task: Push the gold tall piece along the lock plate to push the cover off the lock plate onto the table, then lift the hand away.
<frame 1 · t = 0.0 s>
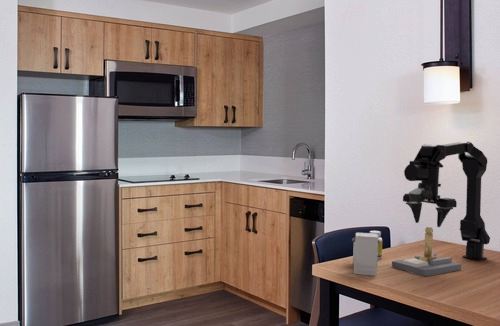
hand: (427, 224, 190), 15 cm above the table, tool pointing down, fingers open, 9 cm apart
cover: (415, 264, 185), point 2 cm above the table, touching lock plate
mug: (364, 265, 191), on the table
lock plate: (426, 268, 188), on the table
supplement box: (364, 272, 180), on the table
gold tall piece: (428, 244, 188), point 8 cm above the table, slide at 0.0 cm
supplement bottle: (374, 258, 203), on the table
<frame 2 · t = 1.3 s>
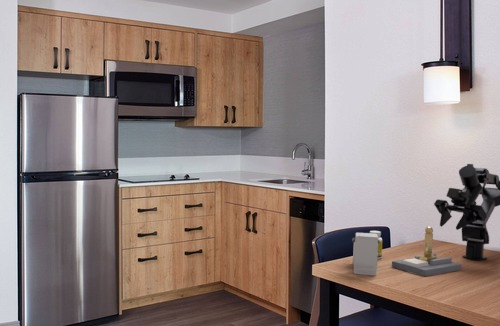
hand: (448, 227, 194), 13 cm above the table, tool tilted 45°, fingers open, 6 cm apart
nothing on the table moved.
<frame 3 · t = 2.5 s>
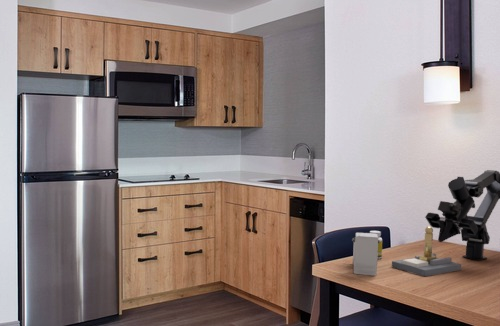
hand: (439, 241, 191), 9 cm above the table, tool tilted 45°, fingers closed
nothing on the table moved.
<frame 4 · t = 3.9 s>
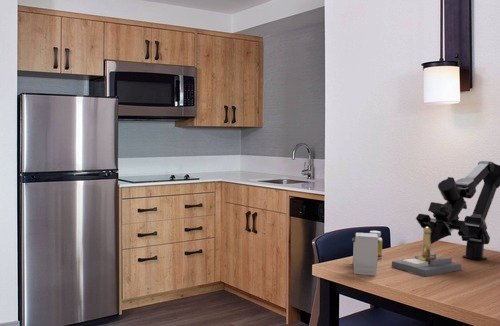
hand: (429, 242, 188), 9 cm above the table, tool tilted 45°, fingers closed, pressing on gold tall piece
gold tall piece: (426, 244, 188), point 8 cm above the table, slide at 0.9 cm, touching gripper
everything else where it was.
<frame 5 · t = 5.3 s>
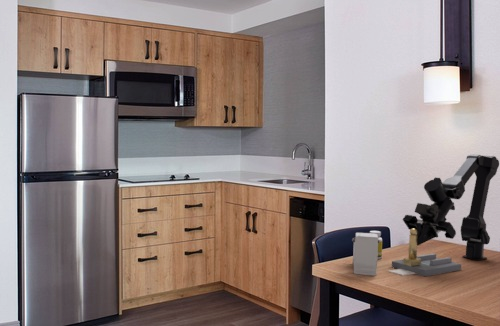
hand: (416, 244, 185), 9 cm above the table, tool tilted 45°, fingers closed, pressing on gold tall piece
cover: (401, 275, 181), on the table
gold tall piece: (413, 246, 184), point 8 cm above the table, slide at 8.0 cm, touching gripper
everything else where it was.
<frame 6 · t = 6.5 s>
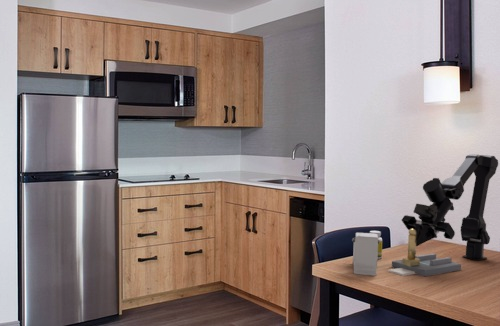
hand: (415, 245, 184), 9 cm above the table, tool tilted 45°, fingers closed, pressing on gold tall piece
gold tall piece: (412, 246, 183), point 8 cm above the table, slide at 8.5 cm, touching gripper
everything else where it was.
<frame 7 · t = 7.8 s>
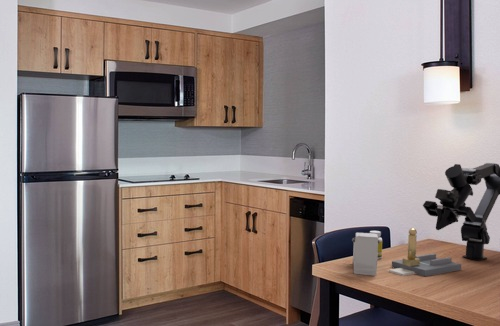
hand: (437, 229, 190), 13 cm above the table, tool tilted 45°, fingers closed
gold tall piece: (412, 246, 183), point 8 cm above the table, slide at 8.5 cm
everything else where it was.
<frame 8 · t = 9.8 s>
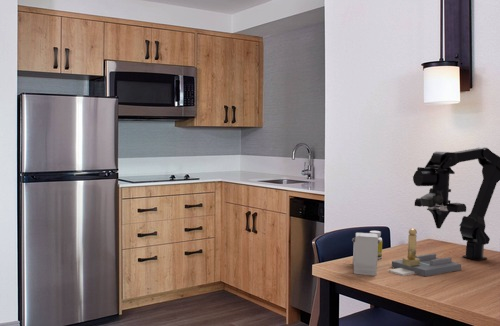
hand: (438, 228, 200), 12 cm above the table, tool pointing down, fingers closed
nothing on the table moved.
at the end: gold tall piece slide at 8.5 cm; cover inside the target area (7.5 cm from its centre), on the table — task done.
